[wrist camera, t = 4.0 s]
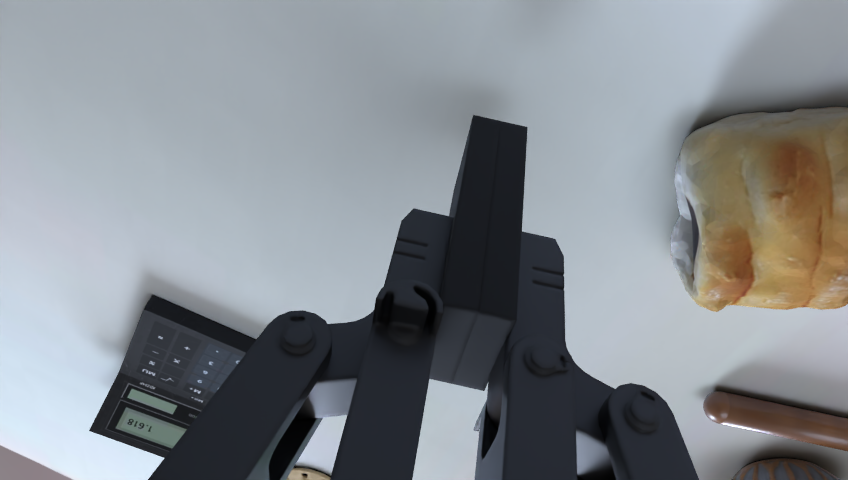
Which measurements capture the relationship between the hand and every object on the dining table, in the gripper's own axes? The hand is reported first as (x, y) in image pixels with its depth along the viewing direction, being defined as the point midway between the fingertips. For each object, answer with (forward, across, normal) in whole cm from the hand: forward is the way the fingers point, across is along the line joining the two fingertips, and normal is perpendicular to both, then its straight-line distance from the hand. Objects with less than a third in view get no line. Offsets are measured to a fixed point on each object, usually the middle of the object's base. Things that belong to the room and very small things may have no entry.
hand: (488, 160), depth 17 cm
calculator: (+2, -11, -21) cm, 24 cm away
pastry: (+2, +10, 0) cm, 10 cm away
